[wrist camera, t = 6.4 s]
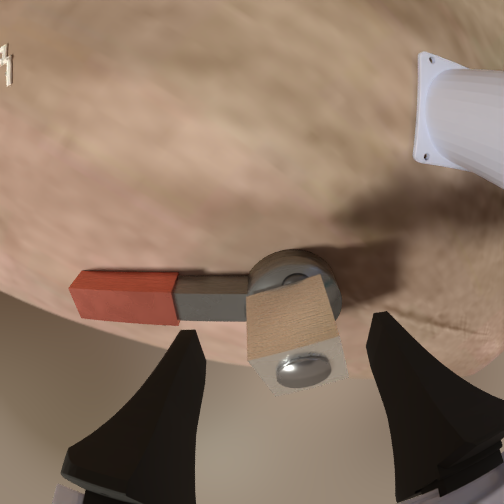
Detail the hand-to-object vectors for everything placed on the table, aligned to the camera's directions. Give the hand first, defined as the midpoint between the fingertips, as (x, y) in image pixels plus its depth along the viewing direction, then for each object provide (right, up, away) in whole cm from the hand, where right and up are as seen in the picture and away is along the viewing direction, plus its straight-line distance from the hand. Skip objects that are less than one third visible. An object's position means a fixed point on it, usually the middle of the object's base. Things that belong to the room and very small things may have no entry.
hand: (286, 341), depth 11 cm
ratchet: (-5, +1, +11) cm, 12 cm away
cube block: (+1, -1, +9) cm, 9 cm away
